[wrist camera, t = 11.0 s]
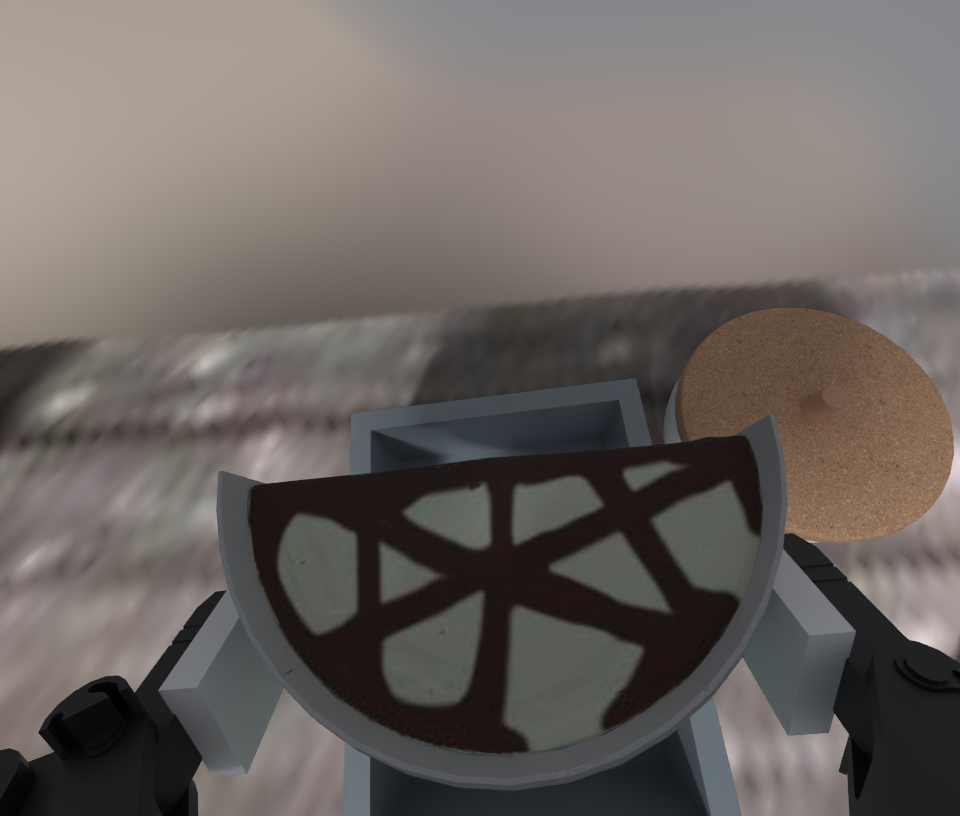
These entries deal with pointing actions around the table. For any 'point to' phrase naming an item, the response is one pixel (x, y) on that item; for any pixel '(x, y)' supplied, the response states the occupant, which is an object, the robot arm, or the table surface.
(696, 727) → the charcoal bin
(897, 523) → the lidded jar
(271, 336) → the table surface
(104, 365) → the table surface
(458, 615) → the food container
